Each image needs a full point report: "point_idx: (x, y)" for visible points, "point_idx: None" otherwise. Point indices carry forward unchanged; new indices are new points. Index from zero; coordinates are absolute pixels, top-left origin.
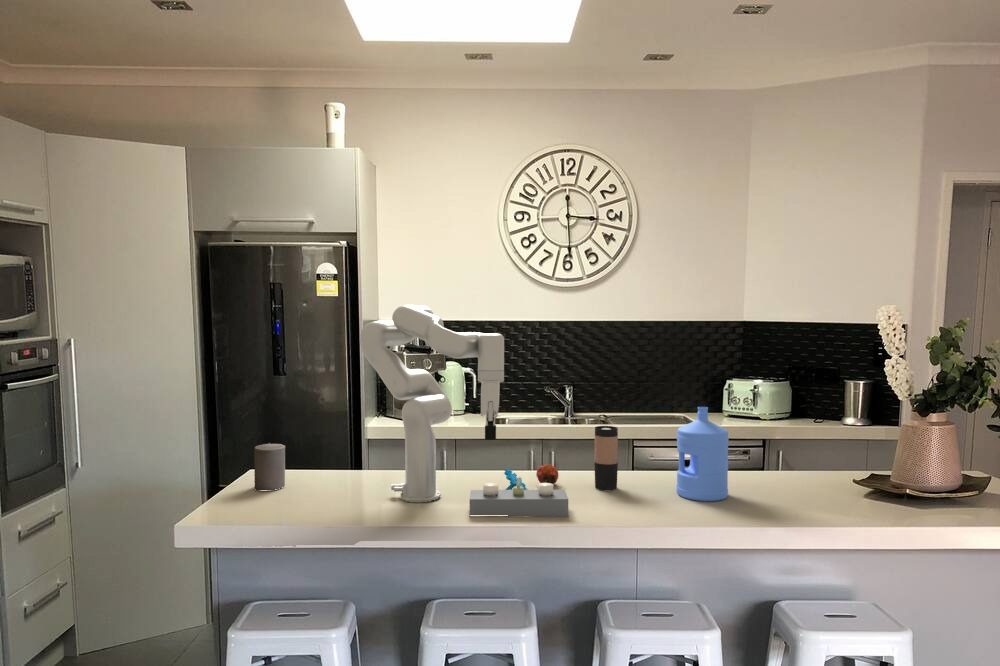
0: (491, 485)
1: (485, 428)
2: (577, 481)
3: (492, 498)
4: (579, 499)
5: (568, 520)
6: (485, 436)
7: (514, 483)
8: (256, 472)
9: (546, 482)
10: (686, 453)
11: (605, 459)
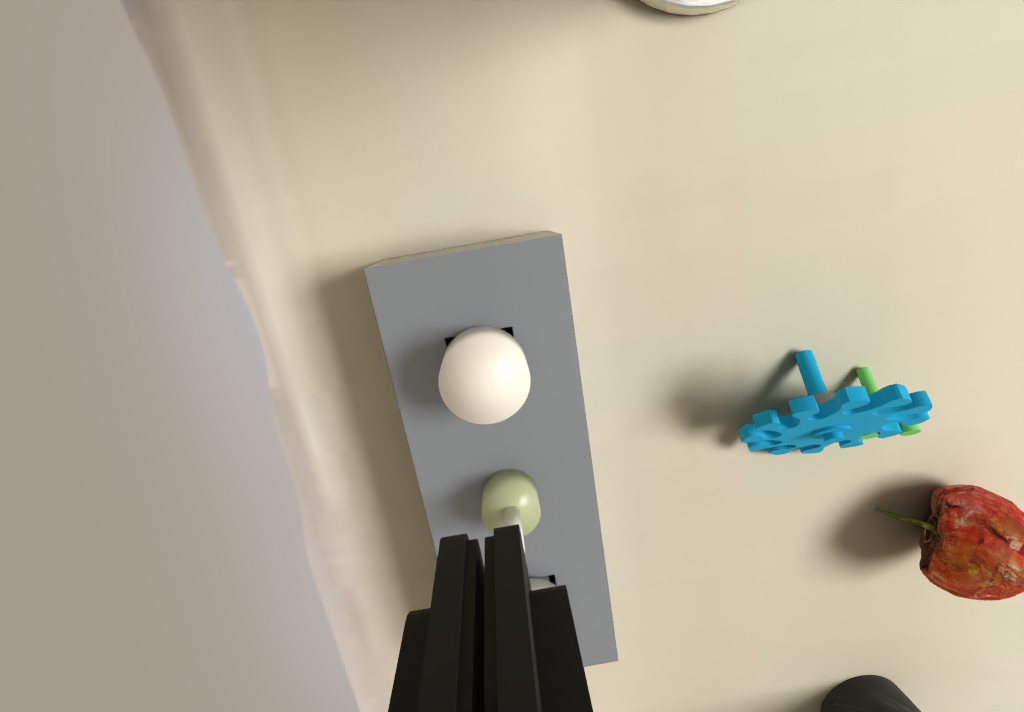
0: (471, 388)
1: (424, 688)
2: (966, 612)
3: (408, 387)
4: (700, 639)
5: None
6: (441, 569)
7: (771, 429)
8: None
9: (910, 522)
10: None
11: None
